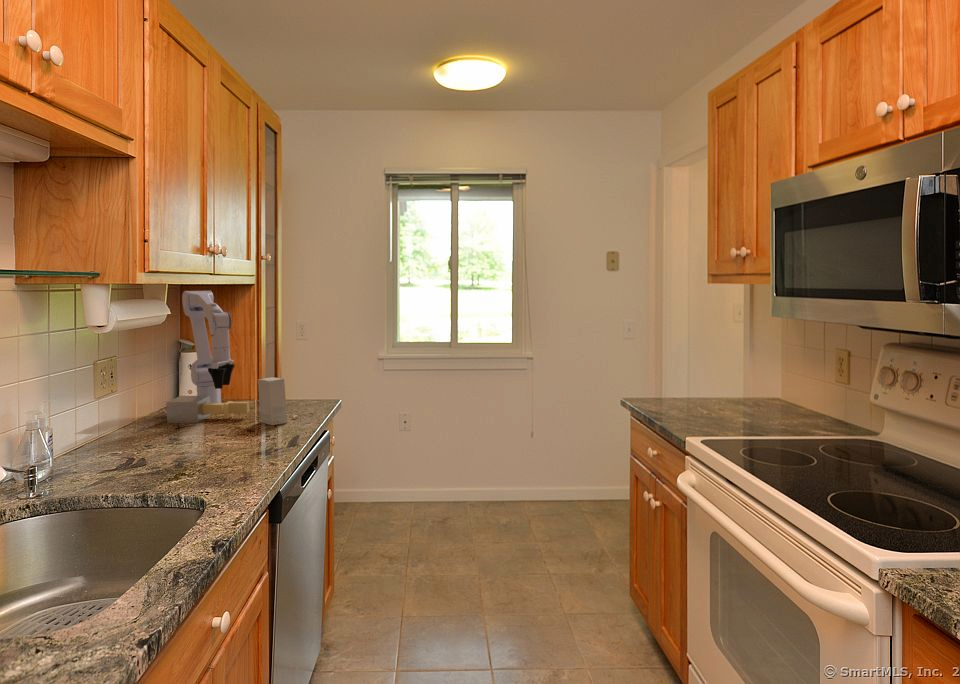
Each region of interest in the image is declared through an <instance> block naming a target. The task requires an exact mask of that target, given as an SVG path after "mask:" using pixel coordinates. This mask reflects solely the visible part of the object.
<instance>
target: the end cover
mask: <svg viewBox="0 0 960 684" xmlns="http://www.w3.org/2000/svg"><path fill="white" fill-rule="evenodd" d="M250 406H251V405H250V401H233V400H228V401H226V402H221V403H204V404H202V414H211V415H223V419H225V420H226V419H227V420H228V419H230V418H232V417H234V414H248V413H250V411H251V410H250Z"/></svg>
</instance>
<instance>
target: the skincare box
mask: <svg viewBox="0 0 960 684" xmlns="http://www.w3.org/2000/svg"><path fill="white" fill-rule="evenodd" d="M285 384H286V383H285V378H279V377H266V378H259V379H257V385H258V386H257V387H258V399H259V400H258V401H259V402H258V403H259V413H260V423H263V424H266V425H270V426H275V425H284V424H287V423H288V414H287V399H286V388H285V387H286V385H285Z"/></svg>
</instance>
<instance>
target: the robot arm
mask: <svg viewBox="0 0 960 684" xmlns="http://www.w3.org/2000/svg"><path fill="white" fill-rule="evenodd" d="M181 298H182V301H181V302H182V308H183V313H184V315H185V316H186V317H189V320H190V324H191V329H192V330H191V331H192V335H193V340H194V341H193V342H194V346H195V352H196V360H195V361H194V362H193V363H192V364H191V366H190V378H191V382H192V384H193V385H194V386H196V396H208V395H210V403H222V394H221V393H222V392H221V391H222V389H223V387H224V386H229V385H230V383H231V378H232V374H233V371H234V368H235V366H236V365H235V363H234V362H235V361H234V360H235V359H232V358H231V348H230V329H231V328H232V317H231V313H230V312H228V311H226V312H224V311H223V309H222V308H221V307H220V306H219V305H218V303H216V302H215V301H214V300H215V297H214V294H213V292H212V290H184V291H183V292H182V295H181ZM205 318H206V319H207V321H208V323H207V324H208V327H209V334H210V336H211V348H210V341H209V336H208V331H207V325H206V321H205Z"/></svg>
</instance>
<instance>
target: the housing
mask: <svg viewBox="0 0 960 684" xmlns="http://www.w3.org/2000/svg"><path fill="white" fill-rule="evenodd" d="M204 403H210V395H208V396H197V395H179V396H177V397H175V398H173V399H171V400H168V401H166V420H167V424H184V423H185V424H186V423H187V424H188V423H189V424H195V423H196V424H197V423H198V424H199V423H201V422H202V421H203V419H204V420H205V419H206V418H209V417H210V416H212V414H202V404H204Z"/></svg>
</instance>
